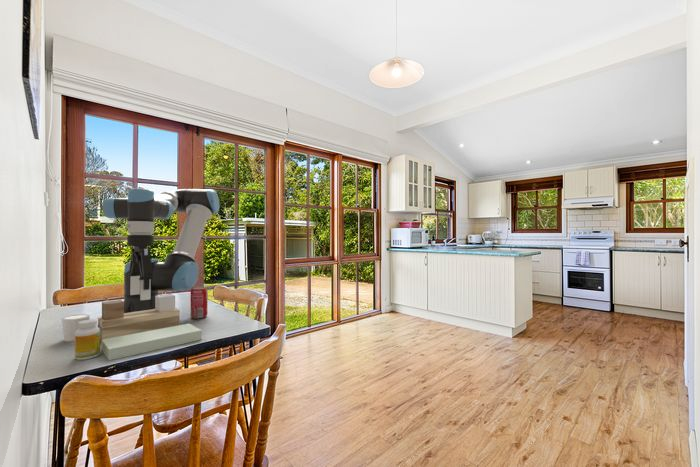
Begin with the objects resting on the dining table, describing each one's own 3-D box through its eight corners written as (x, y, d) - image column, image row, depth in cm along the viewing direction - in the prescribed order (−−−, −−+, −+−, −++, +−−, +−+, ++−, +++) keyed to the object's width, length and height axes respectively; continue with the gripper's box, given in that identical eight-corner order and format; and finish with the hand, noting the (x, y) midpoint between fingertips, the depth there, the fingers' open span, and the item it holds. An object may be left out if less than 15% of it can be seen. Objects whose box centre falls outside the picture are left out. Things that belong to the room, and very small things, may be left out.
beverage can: (201, 314, 134) (201, 286, 134) (210, 316, 131) (210, 287, 131) (187, 318, 129) (187, 288, 129) (196, 320, 126) (196, 289, 126)
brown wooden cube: (101, 317, 104) (101, 301, 104) (120, 314, 107) (120, 299, 107) (104, 320, 100) (104, 304, 100) (123, 317, 104) (123, 301, 104)
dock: (101, 350, 93) (101, 339, 93) (189, 332, 110) (189, 323, 110) (108, 360, 86) (108, 349, 86) (201, 339, 103) (201, 330, 103)
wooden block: (97, 338, 104) (97, 317, 104) (172, 325, 120) (172, 306, 120) (102, 344, 98) (102, 321, 99) (179, 329, 114) (179, 309, 114)
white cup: (93, 337, 105) (93, 315, 105) (66, 343, 99) (66, 320, 99) (84, 333, 108) (84, 313, 108) (57, 339, 102) (58, 317, 102)
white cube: (155, 309, 115) (155, 295, 115) (170, 307, 118) (170, 293, 118) (159, 312, 111) (159, 297, 111) (175, 309, 115) (175, 295, 115)
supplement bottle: (101, 356, 88) (101, 321, 88) (75, 362, 84) (75, 325, 84) (98, 351, 92) (98, 317, 92) (73, 356, 88) (73, 321, 88)
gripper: (119, 234, 115) (118, 293, 115) (137, 233, 98) (136, 303, 97) (143, 234, 121) (143, 291, 120) (164, 234, 103) (163, 300, 103)
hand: (140, 297), depth 109 cm, fingers open, 13 cm apart
